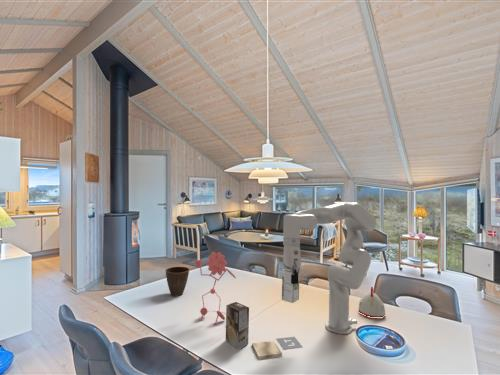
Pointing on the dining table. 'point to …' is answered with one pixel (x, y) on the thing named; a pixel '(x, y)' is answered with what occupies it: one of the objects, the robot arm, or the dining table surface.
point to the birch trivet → (266, 349)
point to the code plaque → (289, 343)
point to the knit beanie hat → (371, 305)
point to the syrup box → (289, 286)
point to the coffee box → (237, 324)
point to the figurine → (215, 265)
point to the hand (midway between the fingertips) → (290, 280)
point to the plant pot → (177, 279)
